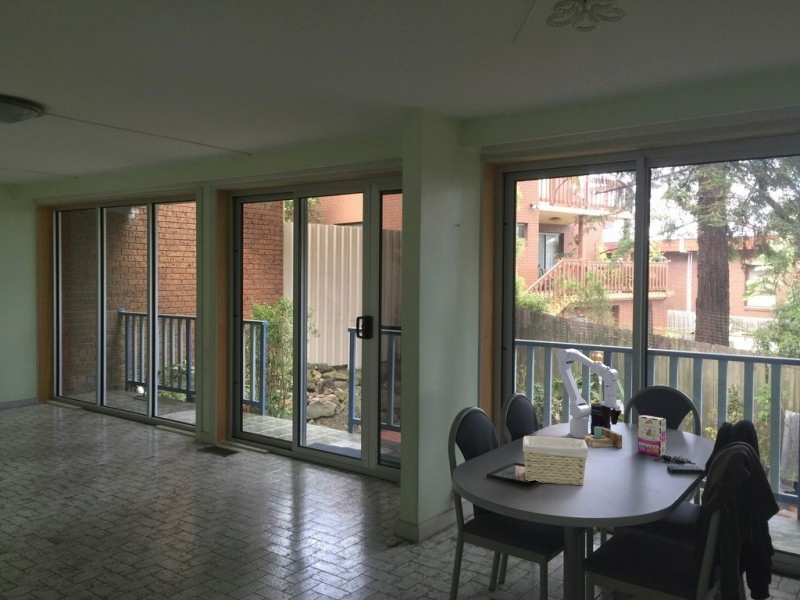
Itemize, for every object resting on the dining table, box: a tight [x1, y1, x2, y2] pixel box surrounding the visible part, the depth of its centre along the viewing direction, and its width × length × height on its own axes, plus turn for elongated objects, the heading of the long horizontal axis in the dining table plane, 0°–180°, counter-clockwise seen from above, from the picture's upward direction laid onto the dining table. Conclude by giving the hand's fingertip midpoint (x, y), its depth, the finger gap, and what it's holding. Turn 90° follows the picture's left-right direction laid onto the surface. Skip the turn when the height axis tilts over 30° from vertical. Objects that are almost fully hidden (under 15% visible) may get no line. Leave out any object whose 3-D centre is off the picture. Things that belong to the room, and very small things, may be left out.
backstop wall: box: [601, 427, 623, 449], centre depth 300 cm, size 18×2×6 cm, turn 11°
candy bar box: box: [637, 414, 667, 457], centre depth 282 cm, size 11×5×16 cm, turn 37°
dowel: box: [594, 427, 601, 439], centre depth 299 cm, size 3×3×8 cm
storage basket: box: [522, 435, 589, 486], centre depth 244 cm, size 24×16×15 cm
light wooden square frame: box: [582, 434, 614, 448], centre depth 299 cm, size 10×10×3 cm
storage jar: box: [589, 402, 612, 435], centre depth 319 cm, size 10×10×15 cm
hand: (609, 422), depth 302 cm, fingers open, 7 cm apart
